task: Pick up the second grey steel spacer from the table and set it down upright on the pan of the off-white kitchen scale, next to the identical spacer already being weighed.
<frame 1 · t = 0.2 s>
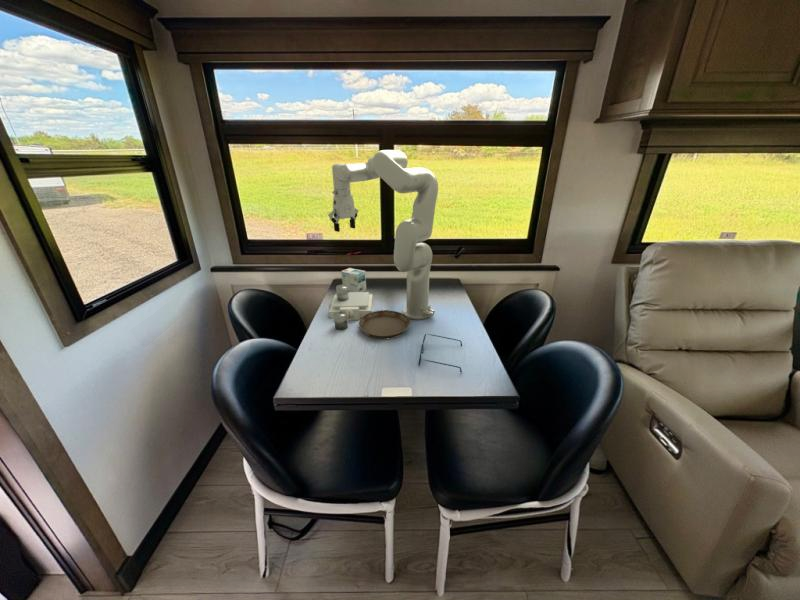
hand: (345, 229, 160), 31 cm above the table, fingers open, 9 cm apart
light bulb box: (354, 290, 171), on the table
plant saucer: (384, 329, 135), on the table
steel spacer B: (341, 327, 135), on the table
sunglasses: (441, 358, 116), on the table
scale: (352, 308, 152), on the table
steel spacer A: (342, 298, 150), point 5 cm above the table, touching scale
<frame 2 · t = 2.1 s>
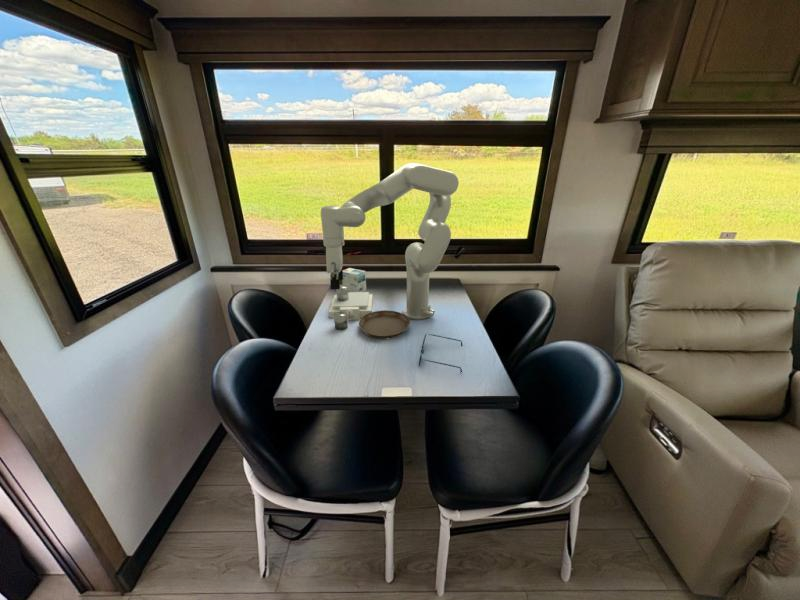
hand: (337, 284, 128), 19 cm above the table, fingers open, 9 cm apart
nothing on the table moved.
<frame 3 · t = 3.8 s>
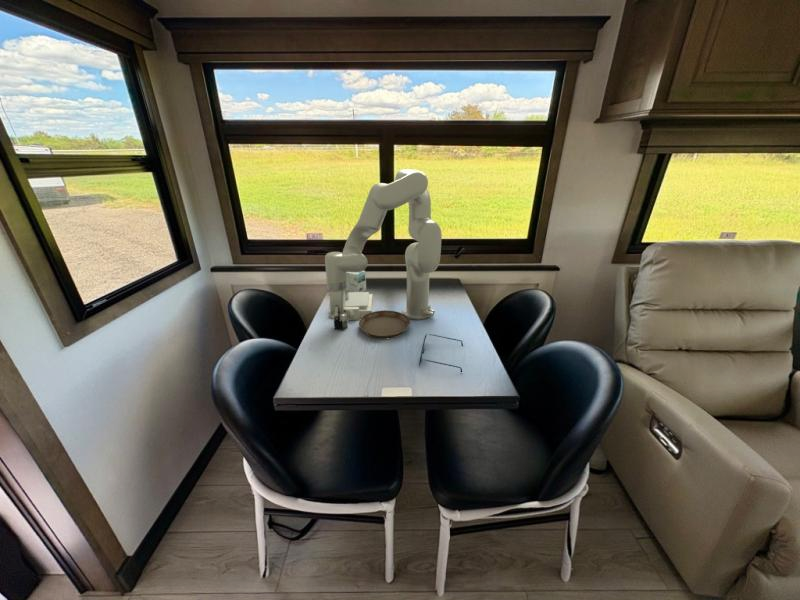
hand: (340, 323, 134), 2 cm above the table, fingers open, 8 cm apart
nothing on the table moved.
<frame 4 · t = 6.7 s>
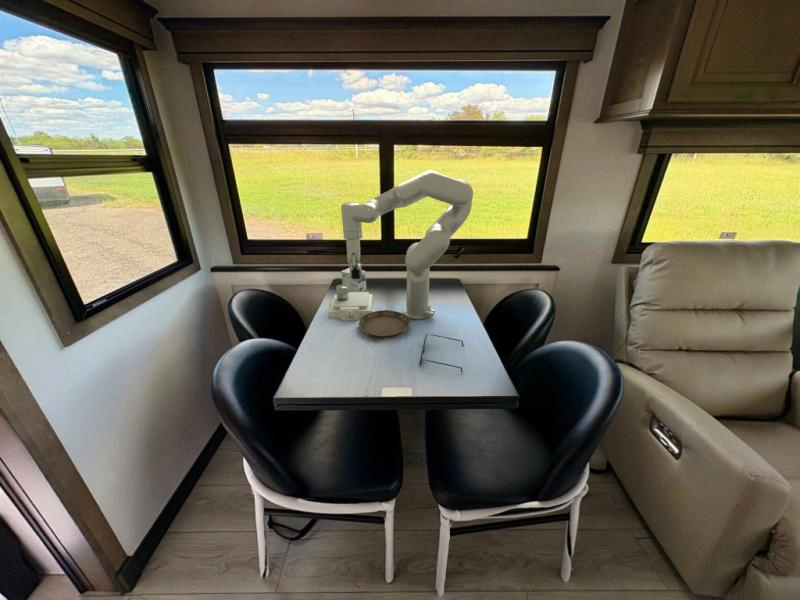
hand: (356, 275, 142), 17 cm above the table, fingers closed on steel spacer B, 5 cm apart
steel spacer B: (356, 277, 142), point 16 cm above the table, touching gripper
everything else where it was.
when the fingers open (7 cm above the table, at t = 9.3 s): steel spacer B drops 1 cm, resting on scale.
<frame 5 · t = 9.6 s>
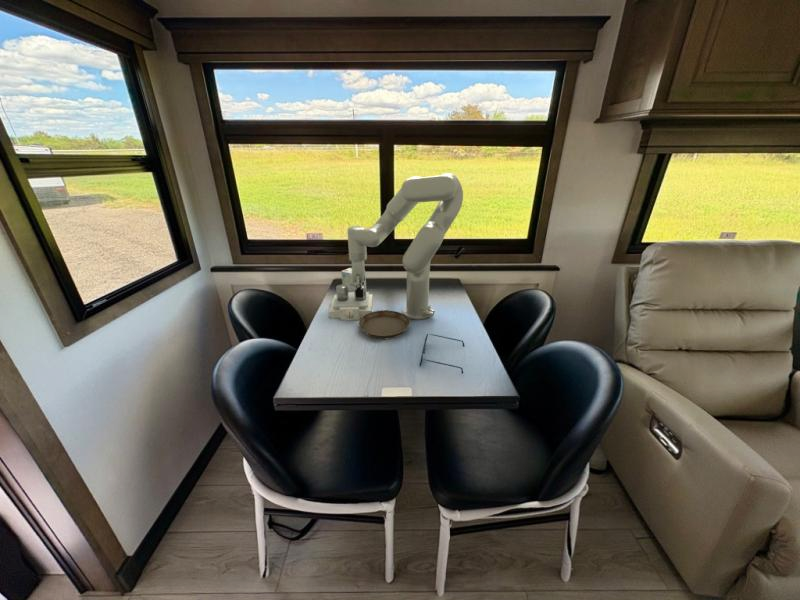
hand: (360, 293, 149), 7 cm above the table, fingers open, 7 cm apart
steel spacer B: (360, 298, 150), point 5 cm above the table, touching scale
everything else where it was.
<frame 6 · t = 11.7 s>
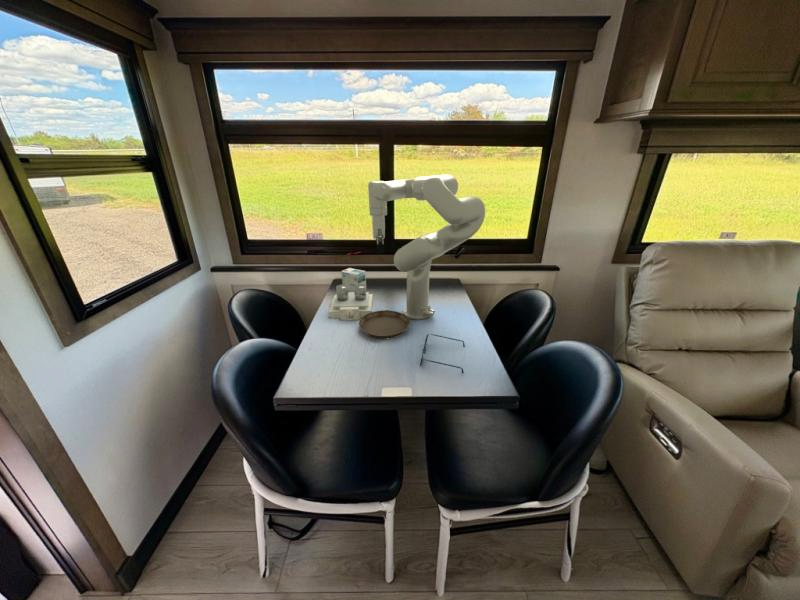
hand: (380, 250, 148), 25 cm above the table, fingers open, 9 cm apart
nothing on the table moved.
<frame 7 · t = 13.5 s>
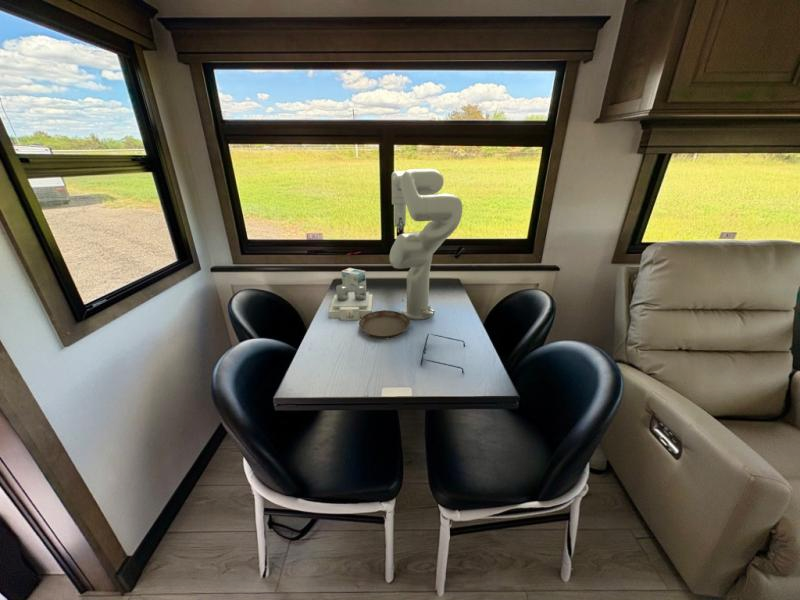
hand: (400, 238, 155), 28 cm above the table, fingers open, 9 cm apart
nothing on the table moved.
at the end: steel spacer B 4.0 cm from the scale (horizontally); steel spacer B point 4.8 cm above the table; steel spacer B tilted 0° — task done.
